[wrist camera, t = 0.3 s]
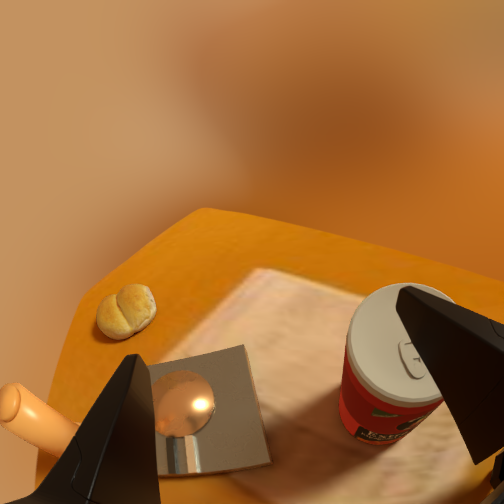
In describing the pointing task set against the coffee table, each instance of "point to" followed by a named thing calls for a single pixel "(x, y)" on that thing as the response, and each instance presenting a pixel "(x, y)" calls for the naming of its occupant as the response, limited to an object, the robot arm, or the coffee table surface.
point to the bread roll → (126, 311)
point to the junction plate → (207, 415)
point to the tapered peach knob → (35, 420)
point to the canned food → (384, 372)
